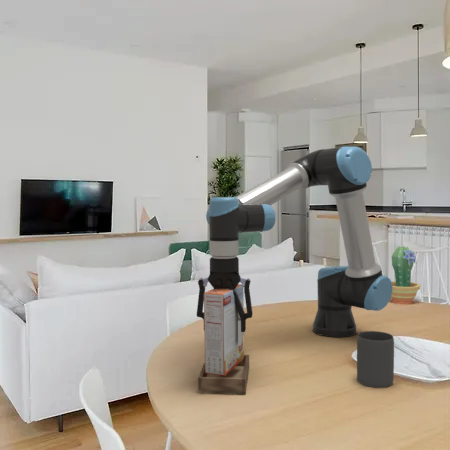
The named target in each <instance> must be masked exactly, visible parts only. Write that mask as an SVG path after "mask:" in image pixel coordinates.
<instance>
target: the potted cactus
mask: <svg viewBox="0 0 450 450" xmlns="http://www.w3.org/2000/svg"><path fill="white" fill-rule="evenodd" d="M416 259H417V255H416V253H415V252H414V251H412V250H411V249H410V248H409V246H401V245H400V246H397V247H396V248H395V250H394V251H393V253H392V255H391V266H392V269H393V270H394V277H395V278H394V279H395V280H394V281H391V282H392V287H393V289H392V295H391V298H390V299H392V300H391V303H393V304H397V305H398V304H399V305H411V304H413V302H414V301H413V300H414V299H415V298H416V296H417V293H418V291H419V290H420V288H421V284H419V283H416V282H411V279H412V278H411V277H412V276H411V274H412V268H413V266H414V264H416Z"/></svg>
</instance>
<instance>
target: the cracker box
mask: <svg viewBox="0 0 450 450" xmlns="http://www.w3.org/2000/svg"><path fill="white" fill-rule="evenodd" d="M234 290H235V291H236V293H237V295H238V297H239V299H240V302H241V305H242V307H243V310H244V306H245V305H244V304H245V303H244V301H245V300H244V299H245V293H244V287H242V284H240V283H239V284H238V285H237V286H236V288H235V289H234ZM244 311H245V310H244ZM203 312H204V320H203V331H204V363H205V373H206V374H213V375H220V376H226V375H227V374H228V373H229V372H230V371H231V370H232V369H233V368H235V367H236V366H237V365H238V364H239V363H240V362H241V361H242V360H243V359H244V355H245V335H244V334H245V332H242V343H241V346H238V318H240V316H239V313H238V311H237V308H236V305H235V300H234V294H233V290H229V289H214V288H212V289H210V290H208V291H205V293H204V304H203Z"/></svg>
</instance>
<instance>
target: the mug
mask: <svg viewBox="0 0 450 450" xmlns="http://www.w3.org/2000/svg"><path fill="white" fill-rule="evenodd" d="M394 339H395V338H394V335H392V334H391V333H388V332H384V331H379V330H378V331H376V330H375V331H374V330H372V331H371V330H370V331H367V330H365V331H361V332H358V334H357V338H356V379H357V382H358V383H360V385H361V384H362V385H363V386H366V387H369V388H370V387H371V388H380V389H381V388H388V387H390V386H392V385H393V383H394V375H395V373H394V372H395V360H394V359H395V340H394Z"/></svg>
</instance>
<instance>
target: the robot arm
mask: <svg viewBox="0 0 450 450" xmlns="http://www.w3.org/2000/svg"><path fill="white" fill-rule="evenodd" d="M371 161H372V160H371V158H370V156H369V154H368V153H367V152H366V151H365V150H363V149H362V148H361V147H359V146H347V145H346V146H340V147H331V148H323V149H317V150H314V151H312V152H310V153H307V154H306V155H304V156H302V157H299V158H298V159H296V160H294V161H293V162H291V163H289V164H288V165H287V166H286V167H285V170H283V171H281V172H279V173H277V174H276V175H275V174H274V176H271V177H270V178H267V179H266V180H264V181H262V182H260V183H258V184H257V185H255V186H253V187H251V188H250V189H247V190H246V191H244V192H242V193H239V194H238V195H237V196H234V197H233V196H231V197H229V196H225V197H224V196H223V197H222V196H221V197H220V196H219V197H217V196H214V197H212V198H210V201H209V207H208V208H207V211H206V214H205V218H206V222H207V224H208V225H209V230H208V231H209V241H208V242H209V256H211V257H210V258H209V275H208V277H204V278H203V277H202V278H199V279H198V281H197V284H198V288H199V291H198V298H197V308H196V317H197V318H201V319H203V321H204V293H205V292H206V287H208V283H209V284H210V285H211V287H212V289H229V290H233V294H234V300H235V305H236V308H237V311H238V313H239V316H240V318H238V346H241V343H242V332H244V333H245V332H246V329H247V327H246V326H247V325H246V324H247V320H248V319H251V318H252V317H253V306H252V299H251V292H250V287H251V286H250V285H251V282H252V281H251V279H250V278H244V277H241V275H240V272H239V270H240V269H239V268H240V267H239V265H240V262H239V260H240V259H239V257H238V256H239V252H240V250H239V234H241V233H259V232H260V233H263V232H267V231H270V230H272V229H273V228H274V227H275V224H276V212H275V209H274V208H273V207H272V205H274V204H275V203H278V202H279V201H281V200H283V199H284V198H286V197H288V196H290V195H291V194H293V193H294V192H297V191H299V192H300V191H301V192H302V191H304V190H306V189H308V188H310V187H317V186H327V188H328V192H329V195H330V196H332V197H334V199H335V203H336V209H337V212H338V213H337V214H338V219H339V224H340V228H341V235H342V239H343V244H344V250H345V255H346V260H347V261H346V262H347V265H338V266H337V265H336V266H328V267H322V268H320V269H319V270H318V272H317V280H316V281H317V311H316V314H315V317H314V320H313V322H312V332H314V333H315V334H317V335H319V336H325V337H329V338H330V337H333V338H344V337H351V336H353V335H356V334H357V323H356V320H355V317H354V313H353V310H352V307H354V308H359V309H362V310H363V309H364V310H367V311H374V312H376V311H377V312H378V311H381V310H383V309H384V308H385V307H386V306H387V305H388V304H389V303H390V300H391V299H392V298H391V295H392V289H393V287H392V282H393V281H392V279H391V278H390V277H388V276H386V275H385V274H384V275H383V271H382V267H381V265H380V264H378V263H377V262H376V259H375V252H374V248H373V242H372V235H371V230H370V225H369V219H368V215H367V208H366V203H365V197H364V192H365V190H366V189H367V186H368V185H367V183H368V182H369V180H370V179H371V177H372V175H371V173H373V166H372V162H371ZM240 283H241V285H242V287H243V293H244V299H245V300H244V301H245V306H246V312H245V310H243V307H242V305H241V302H240V299H239V297H238V295H237V293H236V291H235V290H234V289H235V288H236V286H237V285H238V284H240Z"/></svg>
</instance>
